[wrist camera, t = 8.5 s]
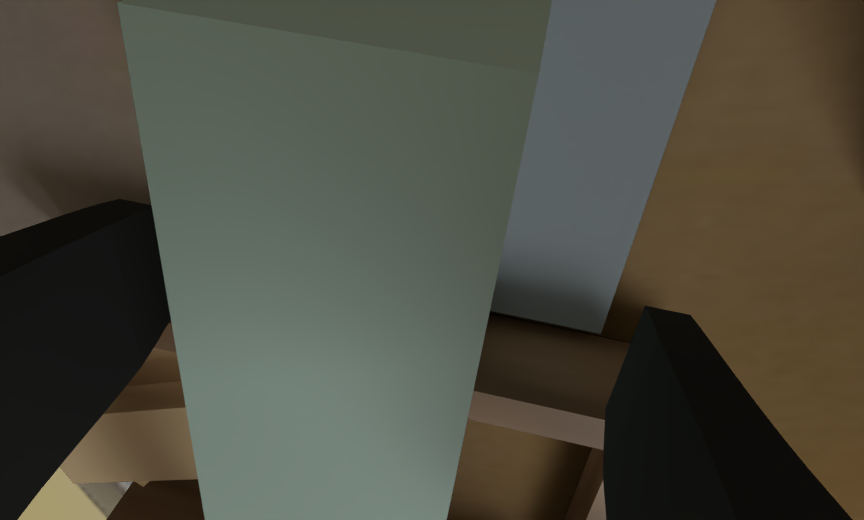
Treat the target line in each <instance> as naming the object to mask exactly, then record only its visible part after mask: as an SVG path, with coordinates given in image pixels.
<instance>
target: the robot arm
mask: <svg viewBox="0 0 864 520" xmlns="http://www.w3.org/2000/svg"><path fill="white" fill-rule="evenodd" d="M170 320H171V317H170V311H169V305H168V299H167V293H166V288H165V282H164V276H163V270H162V264H161V258H160V252H159V246H158V240H157V234H156V229H155V223H154V217H153V211H152V205H147V204H142V203H137V202H132V201H127V200H122V199H118V200H113V201H109V202H105V203H101V204H98V205H94V206H91V207H88V208H84V209H81V210H78V211H75V212H72V213H68V214H65V215H62V216H59V217H56V218H53V219H50V220H48V221H45V222H42V223H39V224H36V225H33V226H30V227H27V228H24V229H21V230H18V231H15V232H13V233H10V234H7V235H4V236H1V237H0V520H17V519H18V518H19V517H20V516H21V514H22V513H23V512H24V510H25V509H26V508H27V506H28V505H29V504H30V502H31V501H32V500H33V499H34V497H35V496H36V495H37V493H38V492H39V491H40V490H41V488H42V487H43V486H44V485H45V483H46V482H47V481H48V480H49V479H50V477H51V476H52V475H53V474H54V473H55V471H56V470H57V469H58V468H59V467H60V465H61V464H62V463H63V462H64V461H65V459H66V458H67V457H68V456H69V455H70V453H71V452H72V451H73V450H74V449H75V447H76V446H77V445H78V444H79V443H80V441H81V440H82V439H83V438H84V437H85V435H86V434H87V433H88V432H89V431H90V429H91V428H92V427H93V426H94V425H95V423H96V422H97V421H98V420H99V419H100V417H101V416H102V415H103V414H104V413H105V411H106V410H107V409H108V408H109V407H110V405H111V404H112V403H113V402H114V400H115V399H116V398H117V397H118V396H119V394H120V393H121V392H122V391H123V389H124V388H125V387H126V386H127V385H128V383H129V382H130V381H131V380H132V378H133V377H134V376H135V375H136V373H137V372H138V371H139V370H140V368H141V367H142V365H143V364H144V362H145V361H146V359H147V358H148V356H149V355H150V353H151V351H152V350H153V348H154V347H155V345H156V344H157V342H158V340H159V339H160V337H161V335H162V333H163V332H164V330H165V328H166V327H167V325H168V323H169V322H170ZM603 484H604V497H605V509H606V520H852V519H851V518H850V516H849V515H848V514H847V513H846V512H845V511H844V509H843V508H842V507H841V506H840V505H839V504H838V503H837V501H836V500H835V499H834V498H833V497H832V496H831V494H830V493H829V492H828V491H827V490H826V489H825V488H824V486H823V485H822V484H821V483H820V482H819V481H818V479H817V478H816V477H815V476H814V475H813V474H812V473H811V471H810V470H809V469H808V468H807V467H806V465H805V464H804V463H803V462H802V460H801V459H800V458H799V457H798V456H797V454H796V453H795V452H794V451H793V449H792V448H791V447H790V446H789V445H788V443H787V442H786V441H785V440H784V438H783V437H782V436H781V435H780V433H779V432H778V431H777V430H776V428H775V427H774V426H773V424H772V423H771V422H770V421H769V419H768V418H767V417H766V415H765V414H764V413H763V412H762V410H761V409H760V408H759V406H758V405H757V404H756V402H755V401H754V400H753V398H752V397H751V396H750V394H749V393H748V392H747V391H746V389H745V388H744V387H743V385H742V384H741V382H740V381H739V380H738V378H737V377H736V376H735V374H734V373H733V372H732V370H731V369H730V368H729V366H728V365H727V364H726V362H725V361H724V359H723V358H722V357H721V355H720V354H719V353H718V351H717V350H716V348H715V347H714V346H713V344H712V343H711V342H710V340H709V339H708V338H707V336H706V335H705V333H704V332H703V331H702V329H701V328H700V327H699V325H698V324H697V323H696V322H695V320H694V319H693V318H692V317H691V315H688V314H683V313H678V312H673V311H668V310H663V309H658V308H653V307H648V306H645V307H644V310H643V312H642V315H641V318H640V320H639V323H638V325H637V328H636V331H635V333H634V336H633V338H632V341H631V344H630V346H629V349H628V351H627V354H626V357H625V359H624V362H623V364H622V367H621V370H620V372H619V375H618V377H617V380H616V383H615V385H614V388H613V390H612V393H611V396H610V398H609V401H608V403H607V406H606V409H605V428H604V450H603Z"/></svg>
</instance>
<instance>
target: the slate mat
mask: <svg viewBox="0 0 864 520" xmlns="http://www.w3.org/2000/svg"><path fill="white" fill-rule="evenodd" d="M715 3H716V0H552V4H551V10H550V15H549V21H548V26H547V32H546V37H545V43H544V48H543V54H542V59H541V65H540V71H539V76H538V81H537V85H536V90H535V95H534V100H533V105H532V110H531V114H530V119H529V124H528V129H527V134H526V139H525V144H524V148H523V153H522V158H521V163H520V168H519V173H518V177H517V182H516V187H515V192H514V197H513V202H512V206H511V211H510V216H509V221H508V226H507V231H506V235H505V240H504V245H503V250H502V255H501V260H500V264H499V269H498V274H497V279H496V284H495V289H494V293H493V298H492V303H491V308H490V311H493V312H498V313H503V314H508V315H513V316H517V317H522V318H527V319H532V320H537V321H541V322H546V323H551V324H556V325H561V326H565V327H570V328H575V329H580V330H585V331H589V332H594V333H599V334H601V332H602V329H603V326H604V323H605V321H606V318H607V315H608V312H609V309H610V306H611V303H612V300H613V298H614V295H615V292H616V289H617V286H618V283H619V280H620V277H621V274H622V272H623V269H624V266H625V263H626V260H627V257H628V254H629V251H630V248H631V246H632V243H633V240H634V237H635V234H636V231H637V228H638V225H639V223H640V220H641V217H642V214H643V211H644V208H645V205H646V202H647V199H648V197H649V194H650V191H651V188H652V185H653V182H654V179H655V176H656V173H657V171H658V168H659V165H660V162H661V159H662V156H663V153H664V150H665V148H666V145H667V142H668V139H669V136H670V133H671V130H672V127H673V124H674V122H675V119H676V116H677V113H678V110H679V107H680V104H681V101H682V98H683V96H684V93H685V90H686V87H687V84H688V81H689V78H690V75H691V73H692V70H693V67H694V64H695V61H696V58H697V55H698V52H699V49H700V47H701V44H702V41H703V38H704V35H705V32H706V29H707V26H708V23H709V21H710V18H711V15H712V12H713V9H714V6H715Z"/></svg>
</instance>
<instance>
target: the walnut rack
mask: <svg viewBox="0 0 864 520" xmlns="http://www.w3.org/2000/svg"><path fill="white" fill-rule="evenodd" d="M630 344H631V343H627V342H622V341H617V340H612V339H608V338H603V337H598V336H593V335H589V334H584V333H579V332H574V331H569V330H565V329H560V328H555V327H550V326H546V325H541V324H536V323H531V322H526V321H522V320H517V319H512V318H507V317H503V316H498V315H493V314H489V318H488V322H487V327H486V332H485V337H484V342H483V347H482V351H481V356H480V361H479V366H478V371H477V376H476V380H475V385H474V390H473V395H472V400H471V405H470V409H469V414H468V419H469V420H474V421H478V422H482V423H487V424H491V425H496V426H500V427H504V428H509V429H513V430H518V431H522V432H526V433H531V434H535V435H540V436H544V437H548V438H553V439H557V440H562V441H566V442H571V443H575V444H579V445H584V446H588V447H592V449H591V452H590V454H589V457H588V460H587V462H586V465H585V467H584V470H583V472H582V475H581V478H580V480H579V483H578V485H577V488H576V490H575V493H574V495H573V498H572V501H571V503H570V506H569V508H568V511H567V513H566V516H565V519H564V520H606V509H605V497H604V484H603V450H604V428H605V409H606V406H607V403H608V401H609V398H610V396H611V393H612V390H613V388H614V385H615V383H616V380H617V377H618V375H619V372H620V370H621V367H622V364H623V362H624V359H625V357H626V354H627V351H628V349H629V346H630ZM154 348H157V349H161V350H166V351H170V352H174V353H177V352H176V346H175V341H174V335H173V329H172V323H171V320H170V322H169V323H168V325H167V327H166V328H165V330H164V332H163V333H162V335H161V337H160V339H159V340H158V342H157V344H156V345H155V347H154ZM107 520H205V517H204V511H203V506H202V500H201V494H200V488H199V482H198V479H189V480H160V481H149V482H148V483H147V484H146V485H145V486H144V487H142V486H141V485H139V484H138V483H136V482H135V481H133V483H132V484H131V485H130V487H129V488H128V490H127V491H126V493H125V494H124V495H123V497H122V498H121V500H120V501H119V502H118V504H117V505H116V507H115V508H114V510H113V511H112V512H111V514H110V515H109V517H108V518H107Z"/></svg>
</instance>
